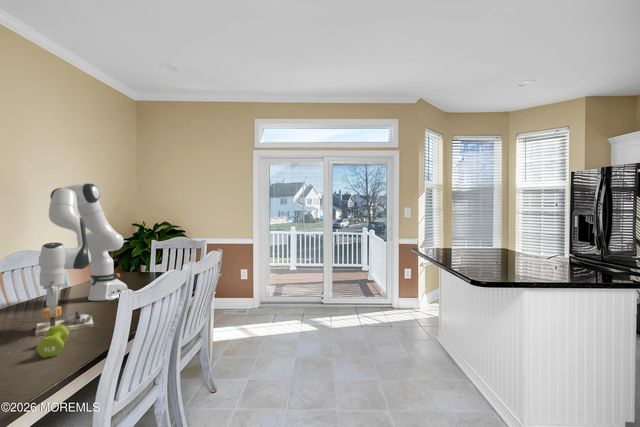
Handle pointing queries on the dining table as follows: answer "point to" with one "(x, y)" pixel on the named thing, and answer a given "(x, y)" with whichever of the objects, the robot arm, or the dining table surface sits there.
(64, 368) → the dining table surface
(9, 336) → the dining table surface
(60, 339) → the dumbbell
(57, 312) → the orange gear
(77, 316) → the gear board
